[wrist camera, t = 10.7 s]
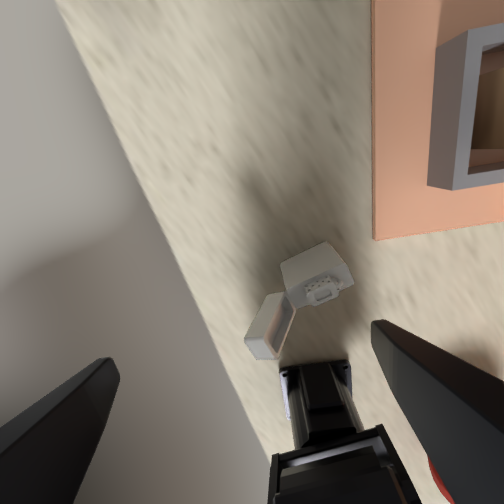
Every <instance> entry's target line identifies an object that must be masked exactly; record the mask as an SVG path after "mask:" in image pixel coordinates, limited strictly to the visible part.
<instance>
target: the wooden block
mask: <svg viewBox="0 0 504 504" xmlns="http://www.w3.org/2000/svg"><path fill="white" fill-rule="evenodd" d="M471 149H504V67H503V68H500V69H497V70H494V71H491V72H488V73H485V74H482V75H479V82H478V90H477V99H476V107H475V116H474V124H473V133H472V141H471Z"/></svg>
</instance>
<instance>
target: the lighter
mask: <svg viewBox="0 0 504 504" xmlns="http://www.w3.org/2000/svg"><path fill="white" fill-rule="evenodd" d="M280 268H281V272H282V276H283V280H284V284H285V289H286V292H285V291H284V292H278V293H273V294H268V295H267V296H266V298H265V300H264V302H263V304H262V306H261V308H260V309H259V311H258V313H257V315H256V317H255V319H254V321H253V322H252V324H251V326H250V328H249V330H248V332H247V334H246V335H245V337H244V342H245V344H246V345H247V347H248V348H249V350H250V351H251V353H252V354H253V356H254V357H255V359H256V360H276V359H278V358H279V355H280V353H281V350H282V348H283V345H284V342H285V340H286V337H287V334H288V332H289V329H290V326H291V324H292V321H293V319H294V316H295V313H296V308H297V309H300V308H302V307H305V306H307V305H309V304H311V305H312V306H313V307H315V306H318V305H320V304H322V303H324V302H327V301H329V300H331V299H333V298H336V297H338V296H339V291H341V290H343V289H345V288H347V287H350V286H352V285H353V284H354V280H353V277H352V275H351V273H350V271H349V268H348V266H347V264H346V263H345V262H344V260H343V259H342V258H341V257H340V256H339V254H338V253H337V252H336V251H335V250H334V248H333V247H332V246H331V245H330V244H329V242H327V241H324V242H322V243H320V244H318V245H316V246H314V247H312V248H310V249H308V250H306V251H304V252H302V253H300V254H298V255H295V256H293V257H291V258H289V259H287V260H285V261H283V262H281V264H280Z"/></svg>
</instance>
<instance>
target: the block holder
mask: <svg viewBox="0 0 504 504" xmlns="http://www.w3.org/2000/svg"><path fill="white" fill-rule="evenodd" d="M371 19H372V206H373V239H374V240H375V241H378V240H385V239H391V238H398V237H404V236H411V235H417V234H424V233H430V232H437V231H443V230H450V229H456V228H463V227H469V226H476V225H482V224H489V223H495V222H502V221H504V149H471V141H472V133H473V124H474V116H475V107H476V99H477V90H478V82H479V75H482V74H485V73H488V72H491V71H494V70H497V69H500V68H503V67H504V0H371Z"/></svg>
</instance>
